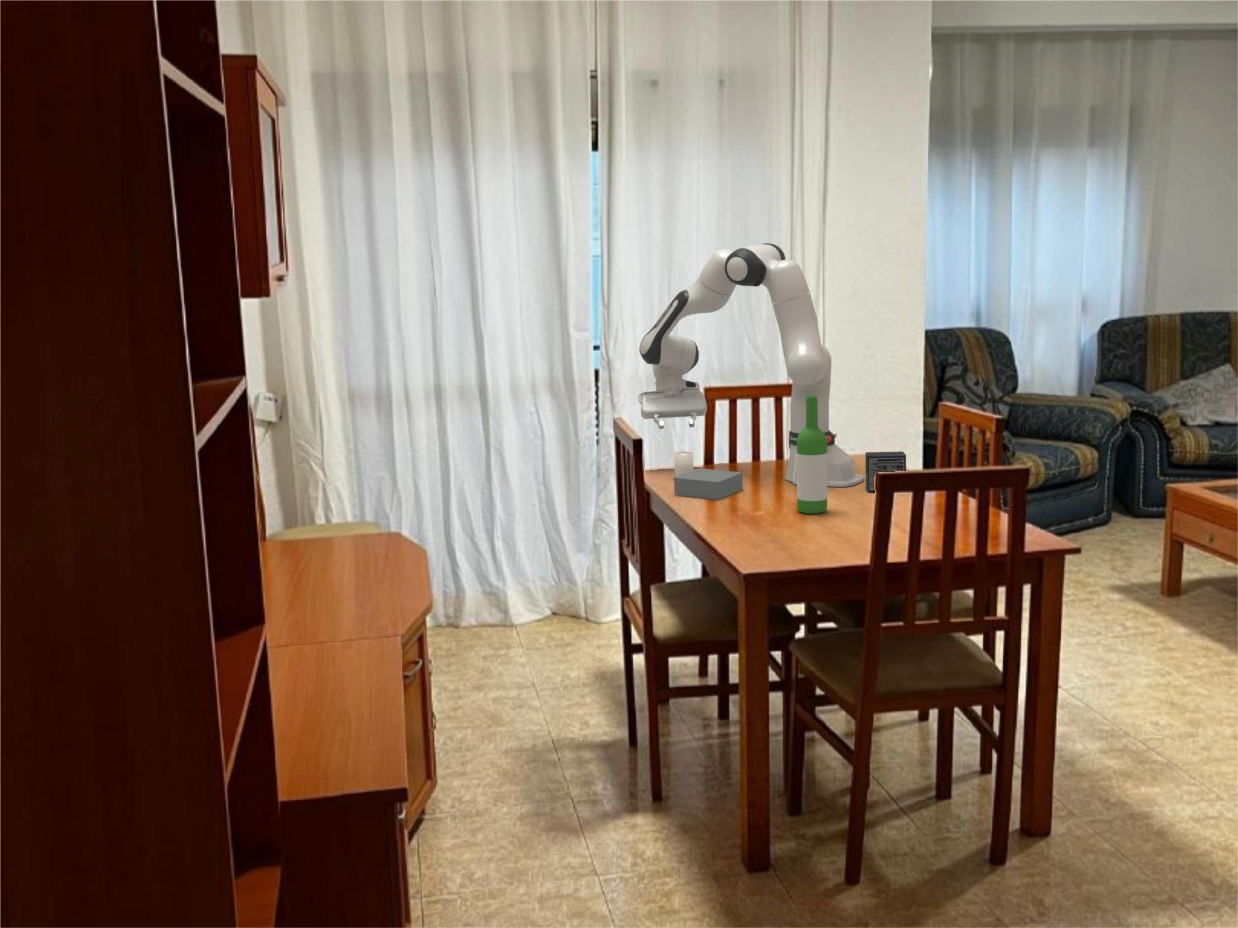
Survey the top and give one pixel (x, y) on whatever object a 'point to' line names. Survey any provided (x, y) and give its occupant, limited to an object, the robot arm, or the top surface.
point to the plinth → (708, 484)
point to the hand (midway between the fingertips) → (676, 426)
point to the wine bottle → (811, 463)
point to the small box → (883, 465)
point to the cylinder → (683, 463)
